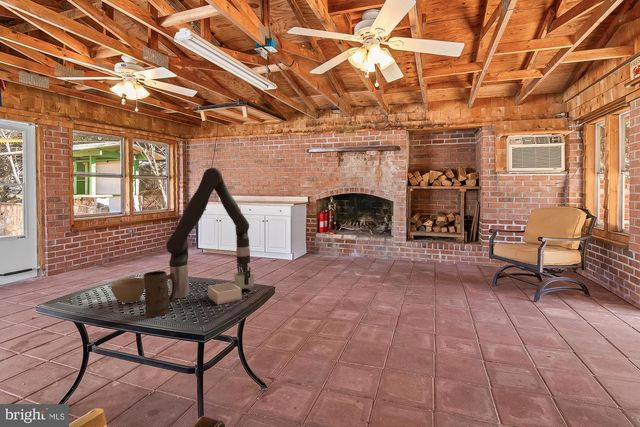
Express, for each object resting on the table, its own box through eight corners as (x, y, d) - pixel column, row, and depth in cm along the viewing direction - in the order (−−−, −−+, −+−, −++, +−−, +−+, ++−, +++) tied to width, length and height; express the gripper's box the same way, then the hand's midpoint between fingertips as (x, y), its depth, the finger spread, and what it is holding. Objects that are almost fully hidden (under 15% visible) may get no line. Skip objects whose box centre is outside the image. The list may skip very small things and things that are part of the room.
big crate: (218, 304, 177) (217, 293, 176) (208, 296, 190) (207, 286, 190) (241, 299, 184) (241, 288, 183) (230, 292, 197) (230, 281, 197)
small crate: (238, 288, 195) (238, 276, 194) (234, 285, 200) (234, 273, 199) (253, 285, 200) (253, 273, 199) (249, 283, 205) (248, 271, 204)
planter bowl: (133, 295, 196) (132, 276, 195) (153, 299, 189) (152, 279, 188) (105, 304, 182) (103, 284, 181) (125, 308, 175) (124, 287, 174)
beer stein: (152, 319, 160) (152, 275, 159) (138, 315, 165) (138, 273, 165) (181, 310, 173) (181, 270, 172) (168, 307, 178) (168, 268, 178)
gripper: (232, 253, 202) (233, 281, 203) (241, 257, 190) (242, 287, 192) (244, 251, 206) (245, 279, 208) (254, 255, 194) (255, 285, 196)
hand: (244, 283), depth 200 cm, fingers closed on small crate, 6 cm apart
